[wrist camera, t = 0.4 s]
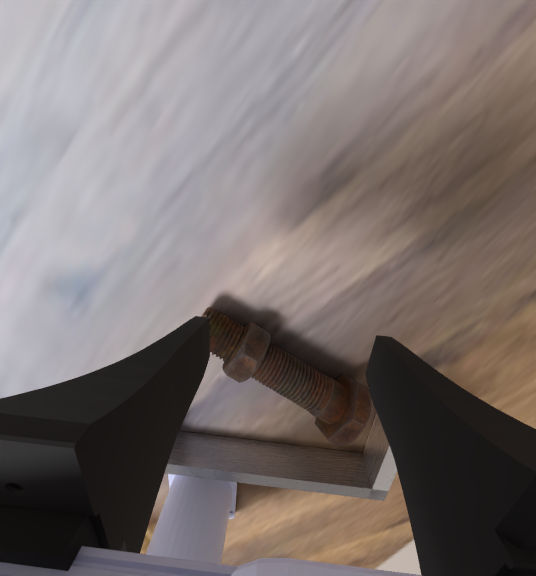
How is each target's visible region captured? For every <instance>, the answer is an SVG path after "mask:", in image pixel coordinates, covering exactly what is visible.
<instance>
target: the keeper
mask: <svg viewBox="0 0 536 576" xmlns="http://www.w3.org/2000/svg"><path fill="white" fill-rule="evenodd" d="M396 472H397V468H396V464H395V460H394V457H393V454H392V451H391V448H390V445H389V443H388V440H387V438H386V435H385V432H384V430H383V427H382V425H381V422H380V419H379V417H378V414H377V412H376V415H375V418H374V421H373V424H372V427H371V430H370V433H369V436H368V439H367V442H366V445H365V447H364V450H363V453H357V452H348V451H340V450H332V449H323V448H315V447H307V446H298V445H290V444H282V443H273V442H265V441H257V440H248V439H240V438H232V437H223V436H215V435H207V434H198V433H190V432H182V431H179V432H178V435H177V437H176V440H175V443H174V446H173V449H172V452H171V455H170V458H169V461H168V464H167V467H166V470H165V474H173V475H181V476H189V477H197V478H205V479H213V480H222V481H230V482H238V483H246V484H254V485H262V486H270V487H278V488H286V489H294V490H302V491H310V492H318V493H326V494H335V495H343V496H351V497H359V498H367V499H375V500H383V501H384V500H385V497H386V495H387V493H388V491H389V488H390V486H391V484H392V481H393V479H394V477H395V475H396Z"/></svg>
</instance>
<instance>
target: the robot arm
mask: <svg viewBox="0 0 536 576" xmlns="http://www.w3.org/2000/svg"><path fill="white" fill-rule="evenodd" d="M209 357H210V318H207V317H198V316H195V317H194V318H192V319H190V320H189V321H187V322H186V323H184V324H183V325H182V326H180V327H179V328H177V329H176V330H174V331H173V332H171V333H169V334H168V335H166V336H165V337H163V338H162V339H160V340H158V341H156V342H155V343H153V344H151V345H150V346H148V347H146V348H145V349H143V350H141V351H139V352H137V353H135V354H133V355H131V356H129V357H127V358H125V359H123V360H121V361H119V362H116V363H114V364H111V365H109V366H106V367H104V368H101V369H99V370H96V371H94V372H91V373H89V374H86V375H83V376H80V377H77V378H74V379H72V380H68V381H65V382H62V383H59V384H56V385H52V386H49V387H45V388H42V389H38V390H34V391H30V392H26V393H22V394H18V395H14V396H10V397H6V398H1V399H0V576H420V575H415V574H407V573H399V572H392V571H384V570H376V569H368V568H360V567H353V566H345V565H337V564H329V563H322V562H314V561H306V560H298V559H291V558H260V559H257V560H254V561H251V562H248V563H245V564H243V565H240V566H231V565H223V564H221V559H222V553H223V547H224V541H225V535H226V529H227V524H228V518H229V519H233V518H234V517H235V508H236V493H237V482H230V481H222V480H213V479H205V478H197V477H189V476H181V475H173V474H168V477H169V487H170V490H169V492H168V495H167V498H166V500H165V503H164V506H163V508H162V511H161V514H160V517H159V519H158V522H157V525H156V527H155V530H154V533H153V536H152V538H151V541H150V544H149V546H148V549H147V552H146V554H140V551H141V548H142V544H143V541H144V537H145V534H146V531H147V527H148V524H149V520H150V517H151V514H152V511H153V507H154V504H155V501H156V498H157V495H158V491H159V488H160V485H161V482H162V479H163V476H164V473H165V470H166V467H167V464H168V461H169V458H170V455H171V452H172V449H173V446H174V443H175V440H176V437H177V435H178V432H179V430H180V427H181V425H182V422H183V420H184V418H185V416H186V414H187V411H188V409H189V407H190V405H191V403H192V401H193V398H194V396H195V394H196V392H197V390H198V388H199V385H200V383H201V381H202V379H203V376H204V373H205V370H206V367H207V364H208V360H209ZM366 378H367V383H368V387H369V391H370V395H371V398H372V401H373V404H374V406H375V409H376V412H377V414H378V417H379V419H380V422H381V425H382V427H383V430H384V432H385V435H386V438H387V440H388V443H389V445H390V448H391V451H392V454H393V457H394V460H395V464H396V468H397V471H398V475H399V478H400V482H401V486H402V490H403V494H404V498H405V502H406V506H407V510H408V514H409V518H410V523H411V527H412V532H413V536H414V541H415V545H416V550H417V554H418V559H419V564H420V569H421V575H422V576H536V429H534V428H532V427H530V426H528V425H526V424H524V423H522V422H520V421H518V420H517V419H515V418H513V417H511V416H509V415H507V414H505V413H503V412H501V411H500V410H498V409H496V408H494V407H492V406H491V405H489V404H487V403H486V402H484V401H482V400H481V399H479V398H477V397H476V396H474V395H472V394H471V393H469V392H467V391H466V390H464V389H463V388H461V387H460V386H458V385H457V384H455V383H454V382H452V381H451V380H449V379H448V378H446V377H445V376H444V375H442V374H441V373H439V372H438V371H437V370H435V369H434V368H432V367H431V366H430V365H428V364H427V363H426V362H424V361H423V360H422V359H420V358H419V357H418V356H417V355H415V354H414V353H413V352H411V351H410V350H409V349H407V348H406V347H405V346H403V345H402V344H401V343H399V342H398V341H396V340H395V339H393V338H392V337H387V336H376V339H375V342H374V346H373V349H372V353H371V356H370V359H369V363H368V366H367V370H366Z"/></svg>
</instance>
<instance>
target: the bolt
mask: <svg viewBox="0 0 536 576" xmlns="http://www.w3.org/2000/svg"><path fill="white" fill-rule="evenodd" d="M202 317H207V318H210V352H212V355H213V354H216V357H218V356H219V357H220V359H222V358H223V361H224V364H223V371H224V372H225V374H226V375H227V376H229V377H231V378H232V379H234V380H236V381H238V382H239V383H240V382H243V381H246V380H247V379H249V378H250V377H251V376H252V378H255V380H256V381H257V380H259V382H260V383H261V382H262V384H263V385H266V386H267V387H269V388H270V389H272V390H273V391H276V392H277V393H279V394H280V395H283V396H284V397H286V398H287V399H290V400H291V401H293V402H294V403H296V404H297V405H299V406H300V407H303V408H304V409H306V410H307V411H309V412H310V413H311V414H312V415H314V416H315V417H316V421H315V424H316V426H317V427H318V428H319V429H320V431H321V432H322V433H323V434H324V436H325V437H326V438H327V439H328V440H329V441H330V442H332V443H334V444H336V445H337V446H339V447H340V446H343V445H345V444H348V443H350V442H352V441H353V440H355V439H356V438H357V437H358V436H359V435H360V433H361V432H362V430H363V428H364V427H365V425H366V422H367V420H368V418H369V416H370V411H371V397H370V391H369V389H367V388H366V387H364V386H362V385H361V384H359V383H358V382H356V381H354V380H352V379H351V378H349V377H347V376H346V375H344V374H343V375H342V376H341V377H340V378H338V379H337V380H336V381H335V380H334V379H332V378H330V377H327V376H325V375H324V374H322V373H320V372H318V371H317V370H315V369H314V368H312V367H311V366H308V365H307V364H305V363H304V362H302V361H301V360H299V359H298V358H295V357H294V356H292V355H291V354H289V353H288V352H285V351H284V350H282V349H281V348H278V346H275V344H272V343H271V342H270V340H271V334H270V333H269V332H267V331H265V330H264V329H262V328H260V327H259V326H257V325H256V324H254V323H252V322H250V323H248V324H247V325H246V326H245V328H244V326H243V325H242V326H240V323H238V324H237V322H236V321H233V319H230V317H226V314H224V315H222V312H220V313H219V310H216V311H215V308H211V307H209V308H207V309H206V311H205V312H204V314H203V315H202Z"/></svg>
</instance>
